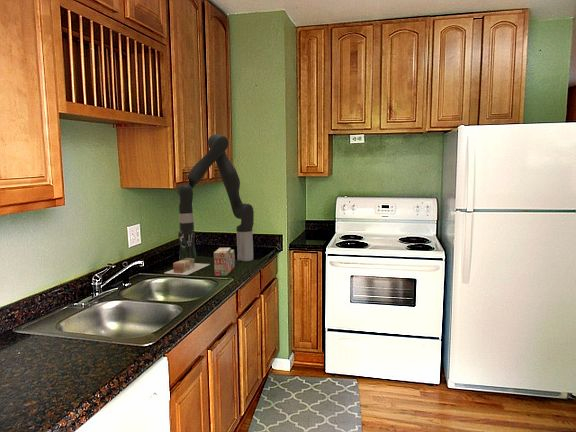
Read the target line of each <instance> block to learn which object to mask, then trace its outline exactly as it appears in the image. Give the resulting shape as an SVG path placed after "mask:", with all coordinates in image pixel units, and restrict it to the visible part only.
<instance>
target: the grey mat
mask: <svg viewBox="0 0 576 432" xmlns="http://www.w3.org/2000/svg"><path fill="white" fill-rule="evenodd" d="M210 265H211V263H197V262H194V268H193V269H190V270H188V271H186V272H184V273H174V268H173V269H171V270H168V271H166V272H164V274H170V275H183V276H188V275H190V274H193V273H195V272H196V271H199V270H201V269H203V268H206V267H208V266H210Z"/></svg>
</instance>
